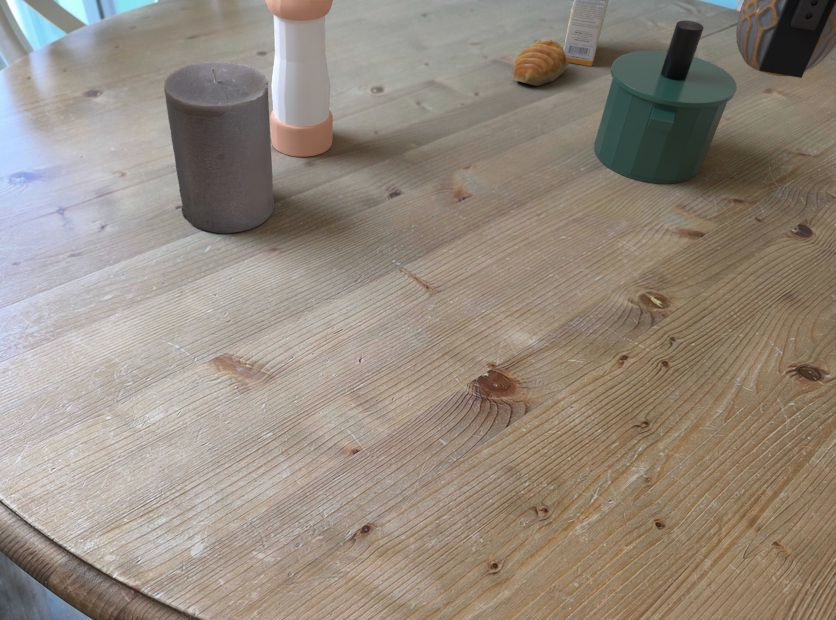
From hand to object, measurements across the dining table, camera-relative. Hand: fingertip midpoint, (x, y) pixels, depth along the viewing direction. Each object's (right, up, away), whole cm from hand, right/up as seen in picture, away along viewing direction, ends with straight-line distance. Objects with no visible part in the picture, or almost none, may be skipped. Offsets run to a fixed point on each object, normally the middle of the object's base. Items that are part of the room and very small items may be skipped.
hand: (779, 50), depth 53 cm
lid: (+5, +9, +31) cm, 33 cm away
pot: (+4, +2, +38) cm, 38 cm away
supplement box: (+2, +23, +59) cm, 63 cm away
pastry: (-5, +18, +53) cm, 56 cm away
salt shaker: (-37, +3, +36) cm, 52 cm away
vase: (0, -1, +1) cm, 1 cm away
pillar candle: (-44, -6, +26) cm, 51 cm away
